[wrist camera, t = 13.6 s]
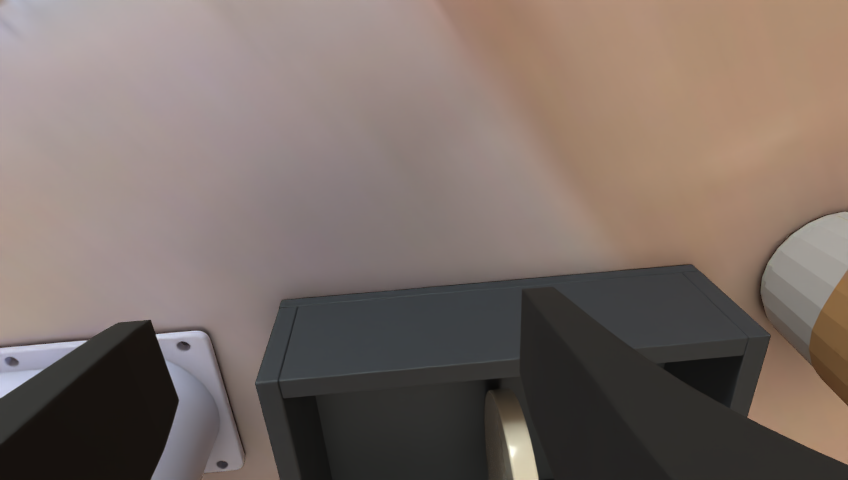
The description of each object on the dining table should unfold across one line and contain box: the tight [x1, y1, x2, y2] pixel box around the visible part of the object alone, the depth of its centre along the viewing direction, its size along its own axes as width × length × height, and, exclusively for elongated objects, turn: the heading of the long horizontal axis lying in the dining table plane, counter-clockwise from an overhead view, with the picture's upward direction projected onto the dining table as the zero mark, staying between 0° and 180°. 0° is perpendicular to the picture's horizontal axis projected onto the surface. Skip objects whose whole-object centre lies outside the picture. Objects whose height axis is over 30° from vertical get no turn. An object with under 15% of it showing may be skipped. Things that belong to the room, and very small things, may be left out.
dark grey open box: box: [255, 265, 771, 480], centre depth 23 cm, size 18×13×5 cm
